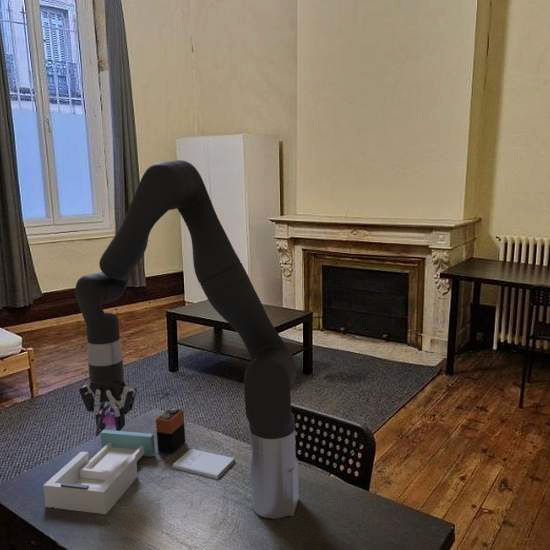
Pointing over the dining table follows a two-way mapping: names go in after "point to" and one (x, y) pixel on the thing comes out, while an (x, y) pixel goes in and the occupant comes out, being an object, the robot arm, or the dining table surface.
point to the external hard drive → (204, 463)
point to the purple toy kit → (106, 419)
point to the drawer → (117, 452)
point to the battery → (170, 430)
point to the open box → (88, 486)
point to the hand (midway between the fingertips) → (110, 428)
